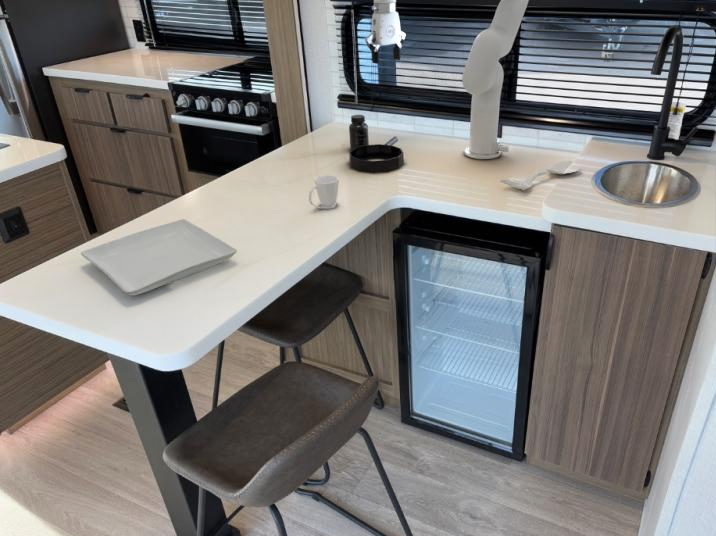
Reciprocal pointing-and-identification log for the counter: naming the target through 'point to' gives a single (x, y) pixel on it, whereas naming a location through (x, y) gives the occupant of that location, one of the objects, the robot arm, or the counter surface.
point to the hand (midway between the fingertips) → (386, 61)
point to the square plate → (158, 256)
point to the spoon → (556, 168)
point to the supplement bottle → (358, 132)
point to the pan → (377, 157)
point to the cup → (326, 191)
